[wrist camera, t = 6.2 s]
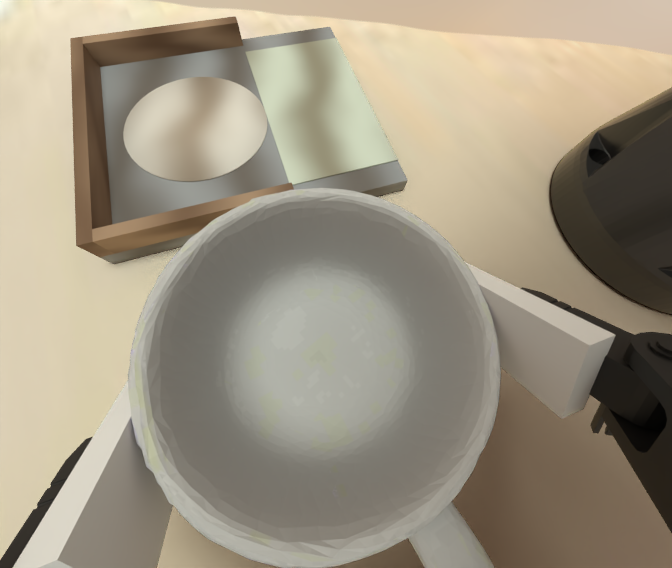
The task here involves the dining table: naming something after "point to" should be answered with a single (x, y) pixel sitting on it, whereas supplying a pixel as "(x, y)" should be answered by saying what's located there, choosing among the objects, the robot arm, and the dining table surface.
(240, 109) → the board
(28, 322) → the dining table surface
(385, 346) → the teacup
